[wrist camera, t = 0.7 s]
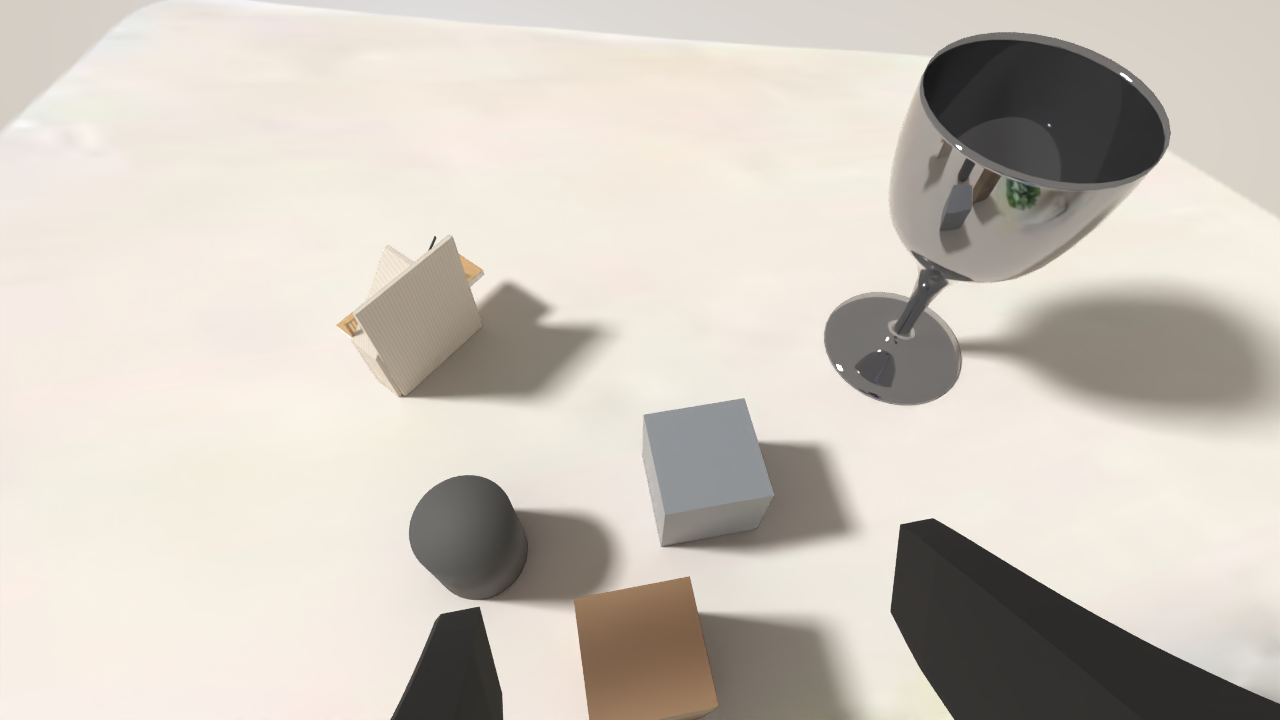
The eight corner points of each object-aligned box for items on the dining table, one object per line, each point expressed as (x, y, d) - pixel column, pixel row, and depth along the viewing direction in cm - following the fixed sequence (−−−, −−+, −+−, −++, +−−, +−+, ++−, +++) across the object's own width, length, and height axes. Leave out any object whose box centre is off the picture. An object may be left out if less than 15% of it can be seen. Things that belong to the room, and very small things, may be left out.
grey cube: (756, 529, 29) (774, 494, 26) (660, 547, 29) (664, 514, 25) (731, 441, 32) (744, 398, 28) (642, 456, 31) (643, 415, 27)
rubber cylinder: (531, 590, 28) (517, 565, 24) (436, 608, 27) (409, 585, 24) (523, 501, 30) (509, 467, 26) (434, 516, 29) (408, 484, 26)
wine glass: (953, 290, 37) (1124, 36, 24) (983, 417, 32) (1212, 190, 20) (810, 282, 37) (905, 27, 24) (822, 407, 33) (945, 177, 20)
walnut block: (701, 717, 25) (718, 705, 20) (599, 739, 25) (591, 733, 20) (679, 611, 27) (689, 576, 22) (584, 629, 27) (573, 598, 22)
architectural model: (360, 368, 34) (298, 278, 28) (456, 286, 37) (420, 187, 31) (404, 404, 33) (351, 318, 27) (500, 316, 36) (472, 220, 30)
